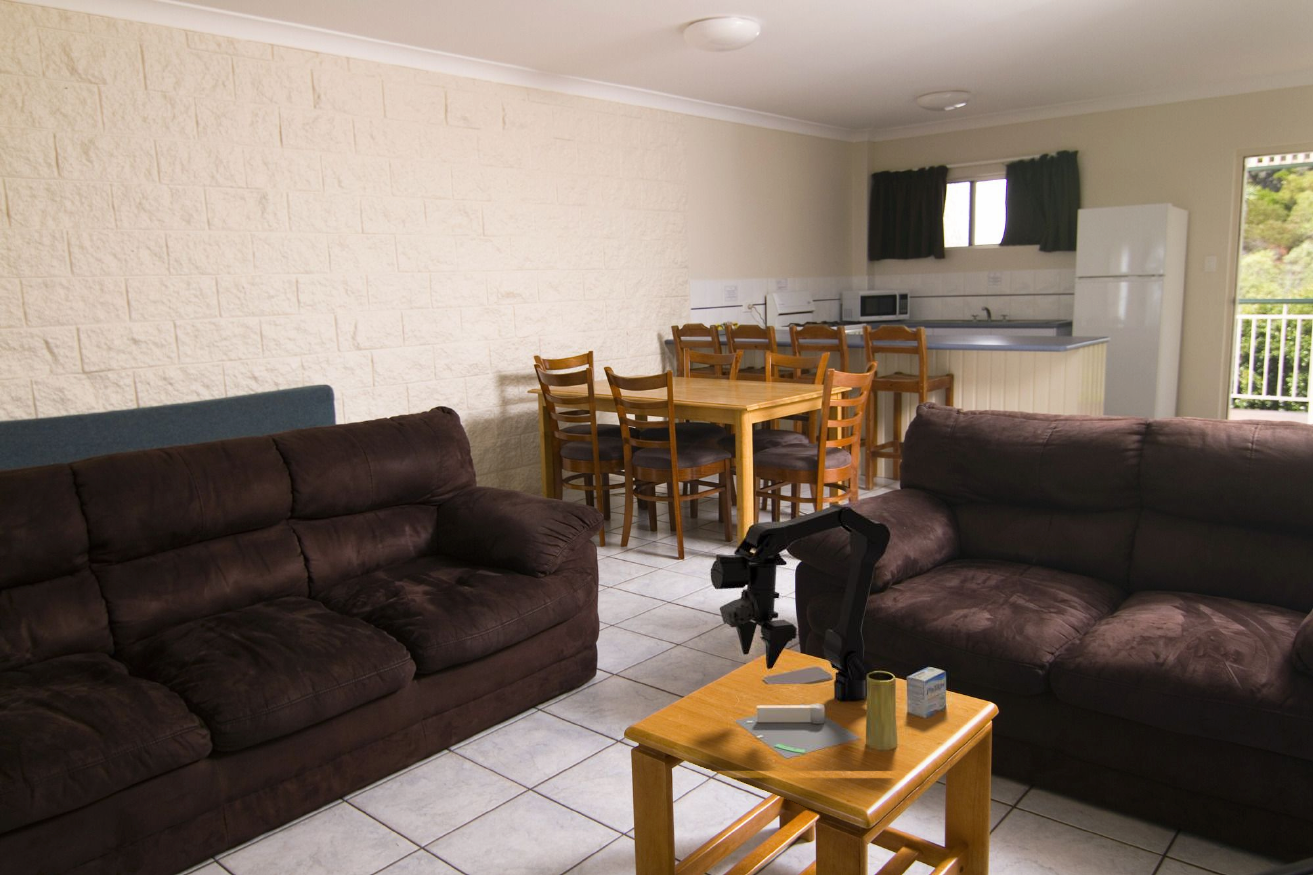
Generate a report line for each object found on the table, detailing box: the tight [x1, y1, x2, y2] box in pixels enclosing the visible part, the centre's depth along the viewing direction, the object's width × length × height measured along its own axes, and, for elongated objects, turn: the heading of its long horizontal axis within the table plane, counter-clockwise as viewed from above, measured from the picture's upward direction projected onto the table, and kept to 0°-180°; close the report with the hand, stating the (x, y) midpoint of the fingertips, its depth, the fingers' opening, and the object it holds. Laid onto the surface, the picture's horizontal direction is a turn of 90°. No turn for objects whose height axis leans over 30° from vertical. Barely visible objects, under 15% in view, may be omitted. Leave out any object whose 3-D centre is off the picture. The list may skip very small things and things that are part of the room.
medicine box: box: [906, 666, 947, 719], centre depth 188 cm, size 8×4×9 cm, turn 131°
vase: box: [865, 670, 899, 751], centre depth 173 cm, size 6×6×14 cm
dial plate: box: [734, 703, 861, 760], centre depth 181 cm, size 17×19×1 cm
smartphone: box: [762, 665, 834, 685], centre depth 209 cm, size 7×1×15 cm
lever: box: [756, 703, 826, 724], centre depth 184 cm, size 14×3×3 cm, turn 86°
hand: (757, 661), depth 187 cm, fingers open, 9 cm apart
